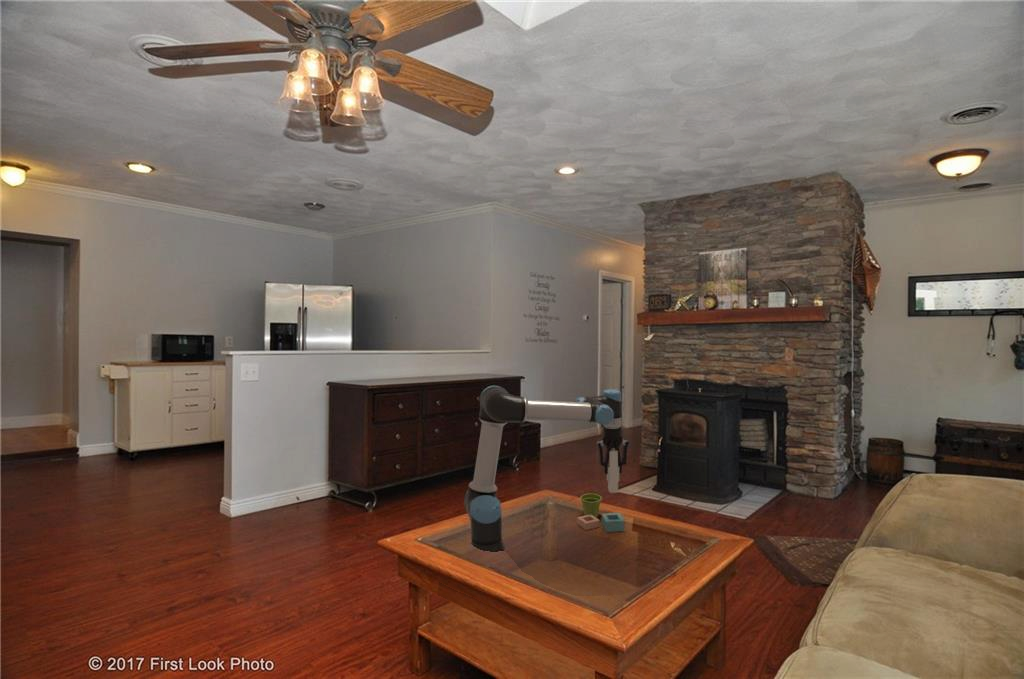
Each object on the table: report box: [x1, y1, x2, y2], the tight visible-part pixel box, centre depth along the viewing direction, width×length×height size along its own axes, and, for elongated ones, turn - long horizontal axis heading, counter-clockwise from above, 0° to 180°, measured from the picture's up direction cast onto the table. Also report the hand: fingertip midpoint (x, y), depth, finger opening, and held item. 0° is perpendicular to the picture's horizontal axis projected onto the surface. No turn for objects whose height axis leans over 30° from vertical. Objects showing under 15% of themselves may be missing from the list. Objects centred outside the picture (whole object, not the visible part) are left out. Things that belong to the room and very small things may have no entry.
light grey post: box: [607, 448, 619, 494], centre depth 234 cm, size 3×3×20 cm
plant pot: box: [579, 493, 603, 518], centre depth 248 cm, size 9×9×9 cm
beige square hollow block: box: [576, 514, 601, 531], centre depth 240 cm, size 7×7×3 cm
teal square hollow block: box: [601, 512, 626, 533], centre depth 237 cm, size 8×8×4 cm
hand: (612, 480), depth 235 cm, fingers closed on light grey post, 3 cm apart
